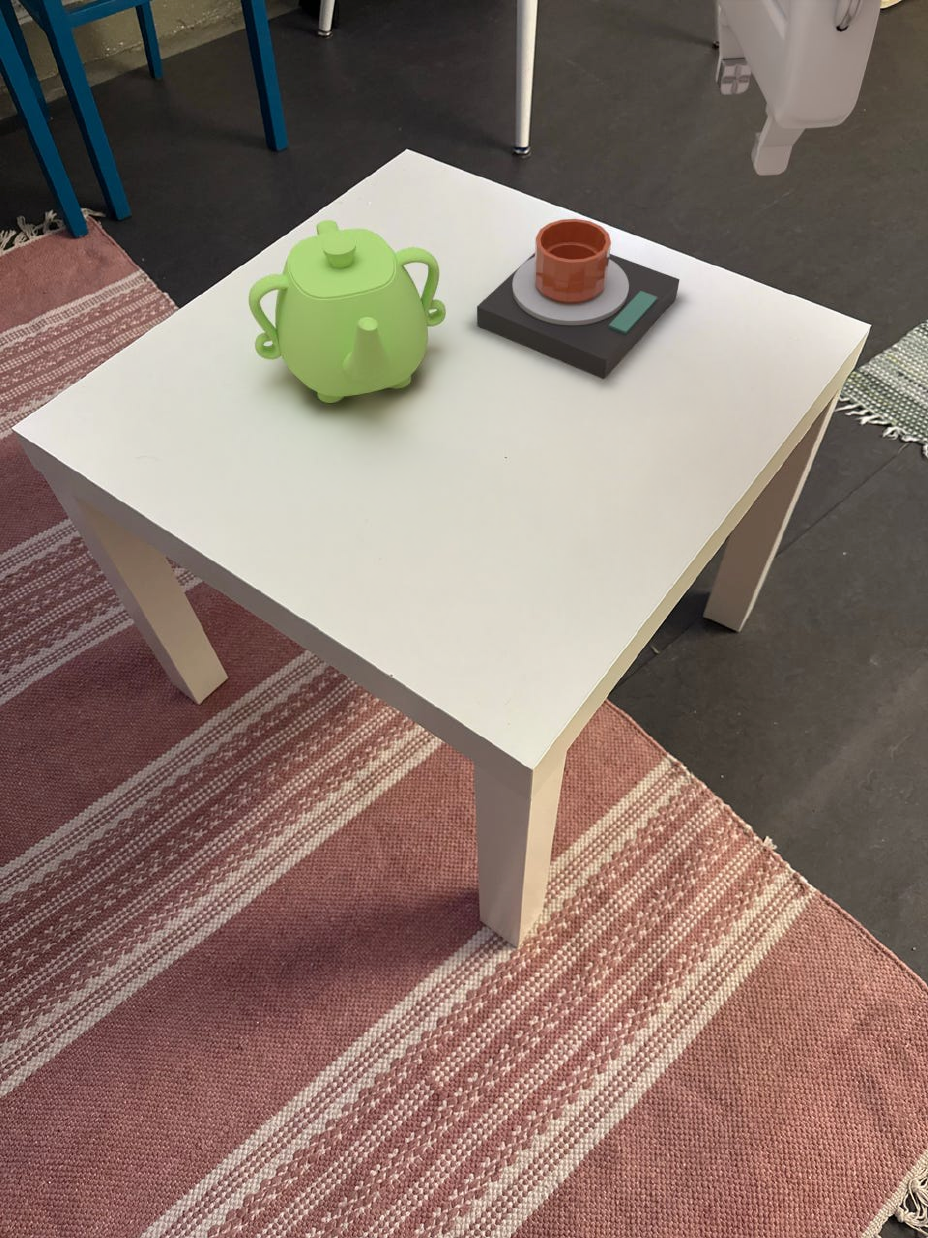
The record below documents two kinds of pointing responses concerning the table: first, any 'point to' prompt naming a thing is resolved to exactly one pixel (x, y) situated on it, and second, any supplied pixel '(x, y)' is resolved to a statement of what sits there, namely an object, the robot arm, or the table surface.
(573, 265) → the orange cup
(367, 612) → the table surface
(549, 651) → the table surface
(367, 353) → the teapot
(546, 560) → the table surface
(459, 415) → the table surface
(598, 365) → the scale
